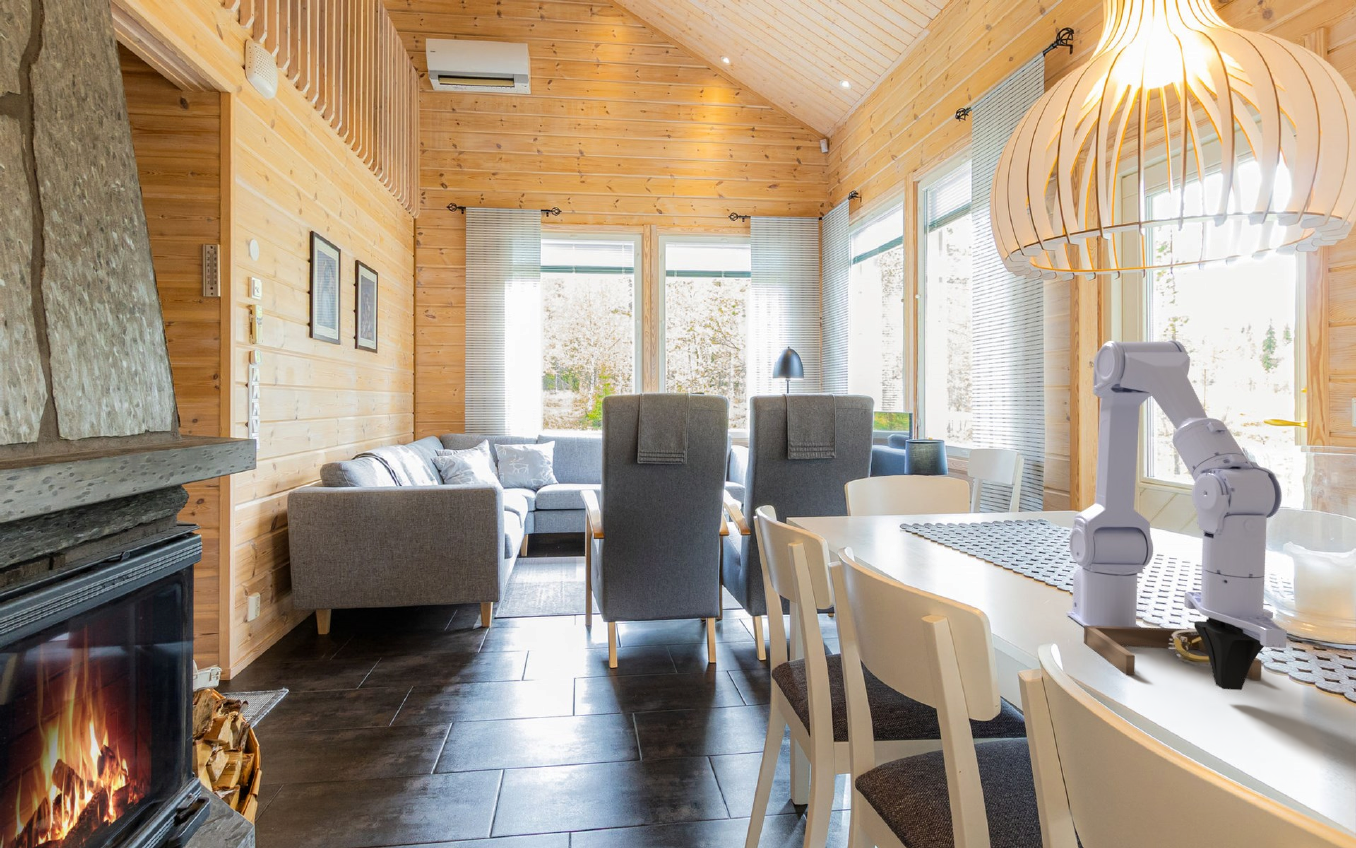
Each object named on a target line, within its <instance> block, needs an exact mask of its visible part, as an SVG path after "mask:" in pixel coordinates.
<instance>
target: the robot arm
mask: <svg viewBox="0 0 1356 848" xmlns="http://www.w3.org/2000/svg"><path fill="white" fill-rule="evenodd" d="M1093 359H1094V360H1093V373H1092V375H1093V377H1092V387H1093V388H1092V394H1093V395H1094V396H1096V397H1098V398H1099V417H1098V436H1097V437H1098V439H1097V455H1096V456H1097V459H1096V472H1095V473H1096V474H1095V475H1096V477H1095V479H1096V480H1095V494H1094V495H1095V497H1094V498H1095V499H1094V503H1093V504H1092V505H1091V506H1089V507H1087V508H1085V509H1084V510H1082V511H1080V512H1078V513H1077V514H1076V515H1075V516H1074V520H1073V527H1072V530H1071V532H1070V536H1069V541H1068V543H1069V544H1068V545H1069V550H1070V555H1071V557H1072V558H1073V560H1074V562H1075V563H1076V564H1077V565H1078V566H1079V567H1077V569H1076V570H1075V571H1074V573H1073V577H1072V579H1073V581H1072V608H1071V609H1072V610H1067V611H1065V612H1066V615H1067V616H1068V617H1070V618H1071V619H1073V620H1074V621H1076V622H1077V623H1078V624H1079V625H1081V626H1082V627H1084V625H1088V626H1117V627H1141V625H1138V624H1137V606H1138V605H1137V604H1138V601H1137V599H1138V574H1139V573H1141V574H1142V573H1144V570H1143V569H1144V568H1145V567H1147V566H1148V565H1149V564H1150V562H1151V560H1152V558H1153V556H1154V555H1153V554H1154V544H1153V539H1152V535H1151V522H1150V521H1149V520H1148V519H1147V518H1146V517H1144V516H1143V515H1142V514H1140V513H1139V512H1138V511H1137V510H1136V509H1135V497H1136V494H1135V493H1136V481H1137V479H1136V477H1137V463H1138V445H1139V444H1138V442H1139V428H1140V427H1139V426H1140V425H1139V423H1140V411H1141V410H1140V409H1141V405H1142V404H1144V403H1145V401H1147V400H1148V399H1149V398H1150V397H1152V398H1153V399H1154V401H1155V402H1156V403H1157V405H1158V406H1159V408H1160V409H1161V410H1162V412H1163V413H1164V414H1165V415H1166V417H1167V418H1168V420H1169V421H1170V422H1171V424H1172V425H1173V427H1174V428H1175V429H1176V431H1175V432H1174V434H1173V436H1172V444H1173V446H1174V448H1175V449H1176V451H1177V453H1178V455H1179V456H1180V458H1181V459H1182V462H1183V463H1184V465H1185V466H1186V469H1187V470H1188V473H1189V474H1190V475H1191V477H1192V478H1193V481H1194V484H1193V488H1191V499H1192V503H1193V505H1194V508H1195V511H1196V514H1197V519H1196V520H1197V522H1196V523H1197V525H1198V529H1199V530H1201V531H1202V547H1201V548H1202V550H1201V551H1202V553H1201V555H1202V556H1201V583H1200V586H1201V587H1200V589H1201V590H1200V591H1184V602H1183V603H1184V604H1183V605H1184V607H1185V608H1187V609H1190V610H1196V611H1198V612H1199V614H1201V615H1202V616H1204V617H1206V620H1205V621H1203V620H1202V621H1194V623H1193V626H1194V629H1196V630H1197V632H1198V633H1199V635H1200V637H1201V639H1202V641H1203V643H1204V645H1205V648H1206V651H1207V653H1208V654H1207V656H1208V657H1209V660H1210V664H1211V665H1210V668H1211V672H1212V677H1213V679H1214V684H1215V685H1216V686H1217V687H1219V688H1221V689H1222V690H1232V691H1233V690H1234V691H1235V690H1236V691H1242V689H1243V687H1244V684H1245V681H1246V679H1247V678H1248V677H1247V674H1248V671H1249V669H1250V667H1251V665H1252V663H1253V661H1254V659H1255V658H1257V656H1258V655H1259V653H1260V652H1261V651H1262V649H1263V648H1275V649H1278V648H1281V649H1287V641H1288V640H1287V638H1288V637H1287V636H1288V633H1287V632H1288V631H1287V629H1285V628H1282V627H1281V626H1279V625H1278V624H1277V623H1275V622H1274V620H1272V619H1273V618H1274V613H1273V612H1272V611H1271V610H1269V609H1266V608H1264V602H1265V574H1266V571H1265V570H1266V545H1267V544H1266V542H1267V541H1266V540H1267V519H1269V518H1272V517H1273V516H1274V515H1276V514H1277V512H1278V511H1279V510H1280V507H1281V505H1282V504H1281V503H1282V499H1283V495H1282V488H1281V485H1280V482H1279V480H1278V479H1277V477H1276V474H1275V473H1274V472H1273V471H1272V470H1270V469H1269V468H1266V467H1262V466H1260V465H1259V464H1258V463H1257V462H1255V461H1250V460H1249V459H1248V458H1247V456H1246V454H1245V453H1244V451H1243V450H1242V449H1241V446H1239V444H1238V443H1237V441H1236V439H1235V438H1234V437H1233V434H1232V433H1231V432H1230V430H1229V429H1228V427H1227V426H1226V425H1225V423H1224V422H1223V421H1222V420H1220V419H1217V418H1213V417H1212V418H1210V417H1208V416H1207V414H1206V411H1205V409H1204V407H1203V406H1202V403H1201V402H1200V401H1201V400H1200V399H1199V397H1198V395H1197V393H1196V391H1195V389H1194V387H1193V386H1192V383H1191V381H1190V379H1189V377H1188V375H1189V370H1190V365H1191V364H1190V363H1191V357H1190V355H1189V354H1188V352H1187V350H1186V348H1185V346H1184V345H1183V344H1182V343H1181V342H1180V341H1179V340H1168V341H1167V340H1166V341H1116V340H1109V341H1106V342H1104V343H1103V344H1102V345H1101V347H1100V349H1099V350H1098V351H1097V353H1096V354H1095V356H1094V358H1093Z"/></svg>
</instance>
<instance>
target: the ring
mask: <svg viewBox="0 0 1356 848" xmlns="http://www.w3.org/2000/svg"><path fill="white" fill-rule="evenodd" d="M1186 629H1187V630H1179V631H1175V632H1174V633H1173V634H1172V636H1173V639H1169V640H1170V641H1173V642H1174V643H1169V645H1172V647H1169V648H1168V650H1169V651H1175V656H1176V657H1177V660H1180V661H1181V662H1183V663H1186V664H1190V665H1192V666H1211V664H1210V660H1209V657H1208V655H1207V656H1202V655H1196V654H1193V653H1190V652H1189V651H1188V650H1190V649H1189V648H1190V647H1192V646H1194V645H1197V644H1200V643H1202V642H1203V641H1202V639H1201V637H1198V638H1196V639H1194V640H1192V641H1191V642H1187V637H1182V636H1188V635H1199V633H1198V632H1197V630H1196V629H1195V628H1186Z"/></svg>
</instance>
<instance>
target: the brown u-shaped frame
mask: <svg viewBox="0 0 1356 848" xmlns="http://www.w3.org/2000/svg"><path fill="white" fill-rule="evenodd" d="M1083 628H1084V630H1083V643H1084V644H1085V645H1087V646H1088V647H1089V648H1090V649H1092V650H1093V651H1095V652H1096V653H1097V654H1099V656H1100V657H1102V658H1104V659H1105V660H1106V661H1107V662H1109V663H1110V664H1111V665H1113V666H1114V667H1115V668H1117V669H1118V670H1119V671H1121V672H1122V673H1123V674H1124V675H1128V676H1135V669H1136V668H1135V665H1136V664H1135V663H1136V655H1135V654H1134V653H1132V652H1130V651H1129V650H1127V649H1126V648H1125V647H1132V648H1134V647H1135V648H1154V649H1155V648H1156V649H1157V648H1158V649H1162V648H1163V649H1169V647H1172V645H1169V643H1174V642H1173V641H1170V640H1169V639H1173V636H1172V634H1173V633H1174V632H1175V631H1179V630H1187V629H1188V628H1170V627H1142V626H1140V627H1117V626H1088V625H1084V626H1083ZM1182 637H1187V642H1191V641H1192V640H1194V639H1196V638H1198V637H1200V635H1188V636H1182ZM1188 650H1200V651H1202V652H1203V653H1205V654H1207V655H1208V653H1207V651H1206V648H1205V645H1204V643H1203V642H1202V643H1200V644H1197V645H1194V646H1192V647H1190V648H1189V649H1188ZM1246 678H1248V679H1250V680H1251V681H1262V659H1259V658H1258V657H1256V658H1255V659H1254V661H1253V663H1252V665H1251V667H1250V669H1249V671H1248V674H1247V677H1246Z"/></svg>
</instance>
